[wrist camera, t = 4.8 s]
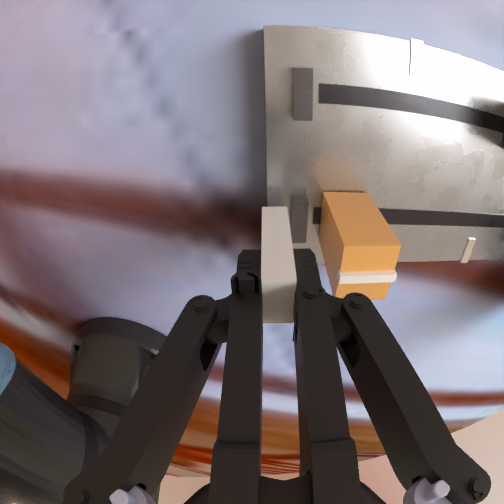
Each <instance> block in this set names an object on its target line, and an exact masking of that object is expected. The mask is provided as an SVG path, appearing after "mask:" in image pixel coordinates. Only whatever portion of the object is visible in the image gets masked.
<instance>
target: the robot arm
mask: <svg viewBox="0 0 504 504" xmlns="http://www.w3.org/2000/svg"><path fill="white" fill-rule="evenodd" d="M231 289H232V294H230V295H229V296H228V297H226V298H223V299H220V300H216V301H215V300H214V299H213V298H212V297H209V296H207V295H199V296H195V297H193V298H192V299H190V300H189V301H188V302H187V304H186V306H185V307H184V309H183V311H182V312H181V314H180V316H179V318H178V319H177V321H176V323H175V324H174V326H173V328H172V330H171V331H170V333H169V335H168V336H167V337H166V336H164V335H162V334H161V333H159V332H157V331H155V330H153V329H150V328H148V327H145V326H143V325H140V324H137V323H134V322H130V321H126V320H121V319H113V318H101V319H95V320H91V321H89V322H87V323H85V324H84V325H82V326H81V328H80V329H79V331H78V333H77V335H76V338H75V340H74V342H73V345H72V350H71V364H70V385H69V394H68V397H67V399H66V400H65V399H64V398H62V397H61V396H60V395H59V394H57V393H56V392H55V391H54V390H52V389H51V388H50V387H49V386H47V385H46V384H45V383H44V382H43V381H41V380H40V379H39V378H38V377H37V376H36V375H35V374H33V373H32V372H31V371H30V370H29V369H28V368H27V367H26V366H25V365H23V364H22V363H21V362H20V361H19V360H18V359H17V358H16V357H15V356H14V353H13V351H12V350H11V349H10V348H9V347H8V346H6V345H5V344H2V343H0V504H12V503H17V504H158V497H159V490H160V483H161V481H162V479H163V477H164V475H165V473H166V471H167V469H168V467H169V464H170V462H171V460H172V458H173V455H174V453H175V451H176V449H177V446H178V444H179V442H180V440H181V437H182V435H183V433H184V431H185V428H186V426H187V424H188V421H189V419H190V417H191V415H192V412H193V410H194V408H195V405H196V403H197V401H198V399H199V396H200V394H201V392H202V389H203V387H204V385H205V383H206V380H207V378H208V376H209V373H210V371H211V369H212V367H213V364H214V362H215V360H216V357H217V355H218V353H219V350H220V348H221V346H222V343H225V342H227V346H226V355H225V365H224V374H223V384H222V394H221V404H220V414H219V425H218V435H217V441H216V442H215V444H214V448H213V456H212V466H211V477H210V483H209V484H207V485H205V486H203V487H202V488H201V489H199V490H198V491H197V492H196V493H195V494H194V495H193V496H191V498H189V499H188V500H187V501H186V502H185V503H184V504H386V503H385V502H384V501H383V500H382V499H381V498H379V497H378V496H377V495H376V494H375V493H374V492H373V491H372V490H371V489H370V488H369V487H368V486H366V485H365V484H364V483H362V482H361V481H360V479H359V470H358V460H357V452H356V446H355V442H354V440H353V439H352V438H351V437H350V434H349V427H348V419H347V412H346V405H345V398H344V391H343V385H342V378H341V372H340V366H339V360H338V354H337V349H338V351H339V353H340V355H341V357H342V359H343V361H344V363H345V365H346V367H347V370H348V372H349V374H350V376H351V378H352V380H353V382H354V384H355V386H356V389H357V391H358V393H359V395H360V397H361V399H362V401H363V403H364V406H365V408H366V410H367V412H368V414H369V417H370V419H371V421H372V423H373V425H374V427H375V430H376V432H377V434H378V436H379V439H380V441H381V443H382V445H383V448H384V450H385V452H386V454H387V457H388V459H389V461H390V463H391V466H392V468H393V470H394V472H395V474H396V476H397V478H398V480H399V481H400V483H401V484H402V486H403V487H404V488H405V489H406V493H405V495H404V499H403V504H476V503H479V502H481V501H483V500H484V498H486V497H487V495H488V493H489V491H490V488H491V480H490V476H489V475H488V474H487V472H486V471H485V470H484V469H482V468H481V467H480V466H479V465H478V464H477V463H476V462H475V461H474V460H473V459H472V458H470V457H469V456H468V455H467V454H466V453H465V452H464V451H463V450H462V449H461V448H459V447H458V446H457V445H456V443H455V442H454V440H453V438H452V436H451V434H450V432H449V430H448V428H447V426H446V424H445V423H444V421H443V419H442V417H441V415H440V413H439V412H438V410H437V408H436V406H435V404H434V403H433V401H432V399H431V397H430V396H429V394H428V392H427V390H426V389H425V387H424V385H423V383H422V382H421V380H420V378H419V377H418V375H417V373H416V372H415V370H414V368H413V367H412V365H411V363H410V362H409V360H408V358H407V357H406V355H405V353H404V352H403V350H402V348H401V347H400V345H399V344H398V342H397V340H396V339H395V337H394V336H393V334H392V333H391V331H390V329H389V328H388V326H387V325H386V323H385V322H384V320H383V318H382V317H381V315H380V314H379V312H378V311H377V309H376V308H375V306H374V305H373V303H372V302H371V300H370V299H369V298H368V297H367V296H366V295H364V294H362V293H357V292H354V293H349V294H347V295H346V296H345V297H344V298H339V297H334V296H331V295H329V294H328V293H326V292H325V290H324V288H322V285H321V280H320V276H319V271H318V267H317V262H316V257H315V254H314V253H313V251H312V250H311V249H310V248H301V249H293V245H292V238H291V230H290V223H289V215H288V208H287V207H262V244H261V250H242V252H241V253H240V254H239V256H238V264H237V272H236V273H235V274H234V275H233V276H232V278H231ZM293 321H294V332H293V341H294V346H295V361H296V377H297V395H298V414H299V437H300V471H299V477H297V478H293V479H289V480H278V479H273V478H268V477H264V476H261V432H262V362H263V323H293ZM336 347H337V348H336Z"/></svg>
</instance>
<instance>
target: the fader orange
mask: <svg viewBox="0 0 504 504" xmlns="http://www.w3.org/2000/svg"><path fill="white" fill-rule="evenodd" d="M319 243H320V247H321V250H322V254H323V258H324V262H325V266H326V269H327V273H328V277H329V281H330V285H331V289H332V294H333V296H334V297H339V298H344V297H345V296H346V295H347V294H349V293H354V292H357V293H362V294H364V295H366V296H367V297H368V298H369V299H370V300H376V299H385V298H386V295H387V292H388V289H389V286H390V283H391V282H395V280H396V277H397V273H396V271H395V266H396V263H397V259H398V256H399V252H400V248H401V244H400V243H399V241H398V239H397V238H396V236H395V234H394V233H393V231H392V230H391V228H390V226H389V225H388V223H387V222H386V220H385V218H384V217H383V215H382V214H381V212H380V211H379V209H378V208H377V206H376V205H375V203H374V202H373V200H372V199H371V197H370V196H369V194H368V193H358V192H323V197H322V209H321V220H320V231H319Z"/></svg>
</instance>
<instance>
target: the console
mask: <svg viewBox="0 0 504 504" xmlns="http://www.w3.org/2000/svg"><path fill="white" fill-rule="evenodd" d="M263 37H264V71H265V112H266V168H267V207H287V208H288V215H289V223H290V230H291V238H292V245H293V249H301V248H310V249H311V250H312V251H313V253H314V254H315V257H316V262H317V264H325V262H324V258H323V254H322V250H321V247H320V243H319V231H320V220H321V209H322V197H323V192H358V193H368V194H369V196H370V197H371V199H372V200H373V202H374V203H375V205H376V206H377V208H378V209H379V211H380V212H381V214H382V215H383V217H384V218H385V220H386V222H387V223H388V225H389V226H390V228H391V230H392V231H393V233H394V234H395V236H396V238H397V239H398V241H399V243H400V244H401V248H400V252H399V256H398V259H397V262H419V261H453V260H461V261H460V263H467V262H468V260H483V259H504V149H503V146H504V72H502V71H500V70H498V69H495V68H493V67H490V66H488V65H485V64H483V63H480V62H477V61H475V60H472V59H469V58H466V57H463V56H460V55H457V54H454V53H451V52H448V51H444V50H441V49H438V48H434V47H430V46H427V45H423V41H420V40H416V39H411V41H406V40H402V39H397V38H392V37H387V36H382V35H376V34H370V33H364V32H357V31H349V30H341V29H331V28H319V27H304V26H264V27H263Z"/></svg>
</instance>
